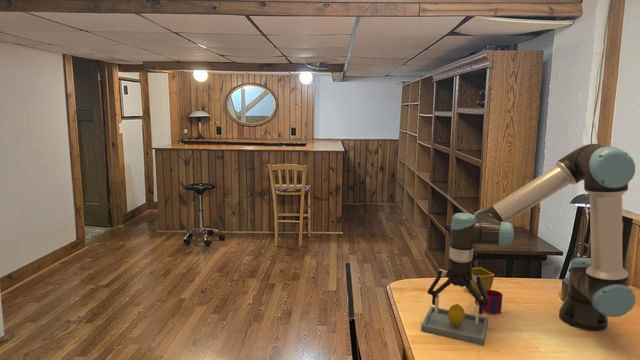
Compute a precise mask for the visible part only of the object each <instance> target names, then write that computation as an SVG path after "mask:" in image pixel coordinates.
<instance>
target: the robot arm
mask: <svg viewBox="0 0 640 360" xmlns="http://www.w3.org/2000/svg"><path fill="white" fill-rule="evenodd" d="M635 174H636V163H635V161H634V159H633V157H632V156H631V155H630V154H629V153H628V152H627V151H624V150H622V149H620V148H618V147H616V146H608V145H604V144H601V143H600V144H599V143H589V144H585V145H583V146H580V147H577V148H576V149H574V150H572V151H571V152H569V153H568V154H566V155H564V156H562V157H561V158H560V159H558V160H557V161H556V162H555V164H554V166H553V167H552V168H550V169H548V170H547V171H545V172H544V173H541V174H540V175H539V176H538V177H535V178H534V179H533V180H531V181H529V182H528V183H526V184H524V185H523V186H522V187H520V188H518V189H517V190H515V191H514V192H512V193H510V194H509V195H507V196H506V197H504V198H503V199H501V200H499V201H498V202H496V203H495V204H493V205H491V206H490V207H488V208H486V209H479V210H477V211H476V212H475V213H474V214H472V213H466V212H458V213H454V214H453V215H452V217H451V226H450V241H449V253H448V257H449V258H448V267H447V268H448V269H447V270H444V269H443V268H439V270H438V272H437V276H436V277H435V279H434V281H432V283H431V285H430V287H428V289H427V292H426V293H427V294H428V295H431V297H432V299H431V300H432V301H431V303H432V305H433V306H434V307H435V314H434V315H437V313H438V308H439V303H440V293H442V292H443V291H444V290H445V289H446V288H447V287H449V286H450V285H453V286H455V287H458V286H459V287H461V288H463V287H465V288H466V289H467V290H468V291H469V293H470V294H471V295H472V297H473V298H474V300H475V299H476V301H477V305H476V311H475V315H476V322H475V324H478V321H479V316H480V315H483V312H484V311H483V306H484V305H489V298H488V296H487V293H486V291H485V289H484V286H483V284H482V282H481V275H477V276H474V275H472V273H471V270H472V268H473V267H472V266H473V257H474V256H473V254H474V246H475V245H474V244H479V245H482V244H483V245H495V246H510V245H512V243H513V242H514V235H515V232H514V231H515V230H514V225H513V224H512V223H511V222H510V221H512V220H513V219H515V218H517V217H518V216H520V215H521V214H523V213H525V212H526V211H528V210H529V209H531V208H533V207H534V206H536V205H537V204H539V203H541V202H543V201H544V200H546V199H548V198H549V197H551V196H552V195H554V194H555V193H556V194H557V192H559V191H561V190H562V189H564V188H566V187H567V186H568V185H576V184H578V183H580V182H581V181H583V190H584V191H585V192H586V193H588V195H589V219H590V222H589V223H590V230H589V231H590V257H576V258H573V259H571V263H570V266H569V268H570V269H569V274H568V275H569V276H568V286H567V291H566V293H567V294H566V297H565V300H563V303H562V305H561V306H560V308H559V313H558V315H559V319H560V320H561V321H562V322H564V323H565V324H567V325H569V326H571V327H573V328H576V329H579V330H580V329H581V330H586V331H593V332H600V331H604V330H606V329H608V324H609V323H608V322H609V320H608V317H610V318H617V317H622V316H625V315H626V314H627V313H628V312H631V311H632V309H634V307H635V304H636V295H635V293H634V291H633V290H632V288H630V287H629V272H628V271H627V270H626V269H625V268H624V267H623V195H624V194H626V193H627V191H628V190H629V183H630V181H631V180H632V179H633V178H634V176H635ZM445 275H446V277H447V280H446V281H445V282H443V283H442V284H441V285H439V286H438V287H437V288H436V286H437V284H438V283H439V281H440V280H441V278H442V277H444V276H445ZM472 279H473V280H474V281H475V282H477V286H478V288H479V291H480V293H481V295H482V297H480V295H479V294H478V293H477V291H476V290H475V289H474V287H473V286H472V284H471V282H470V281H471V280H472ZM435 288H436V289H435ZM434 289H435V290H434ZM432 305H431V306H432Z"/></svg>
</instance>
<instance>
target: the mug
mask: <svg viewBox="0 0 640 360" xmlns="http://www.w3.org/2000/svg"><path fill="white" fill-rule="evenodd" d="M485 291H486V293H487V296H488V298H489V305H484V306H483V312H485V313H487V314H490V315H499V314H501V313H502V305H503V296H504V295H503V293H502V292H500V291H498V290H494V289H490V290H485ZM480 297H481V298H483V297H482V295H480ZM474 303H475V305H476V306H477V303H478V302H477V301H476V299H475V298H474Z"/></svg>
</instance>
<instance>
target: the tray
mask: <svg viewBox="0 0 640 360" xmlns="http://www.w3.org/2000/svg"><path fill="white" fill-rule="evenodd" d="M448 312H449V309H447V308H443V307H442V308H441V307H438V313H437V315H434V314H435V306H434V305H433V306H432V305H430V307H429V309H428V311H427V312H426V313H427V314H426V315H425V317H424V319H423V321H422V324H421V326H420V328H421V329H420V332H423V333H428V334H431V335H437V336H440V337H445V338H449V339H454V340H458V341H463V342H467V343H470V344H475V345H480V346H484V344H485V340H486V339H485V338H486V333H487V328H488V321H489V317H485V316H482V315H479V321H478V324H475V322H476V314H472V313H471V314H470V313H466V312H465V319H464V321H463V323H462V324H460V325H457V326H455V325H454V324H452V323H451V322H450V321H449V318H448Z"/></svg>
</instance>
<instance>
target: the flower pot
mask: <svg viewBox="0 0 640 360" xmlns="http://www.w3.org/2000/svg"><path fill="white" fill-rule="evenodd" d="M471 273H472V275H474V276H477V275H481V282H482V284H483V286H484V289H485V290H492V287H493V282H494V280H495V279H494V278H495V274H494V273H492V272H490V271H488V270H486V269H485V268H483V267H472V270H471ZM470 282H471V284H472V286H473V287H474V289H475V290H476V291H477V293H478V294H479V295H481V293H480V291H479V288H478V286H477V282H475V281H474V280H473V279H472V280H471V281H470Z"/></svg>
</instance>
